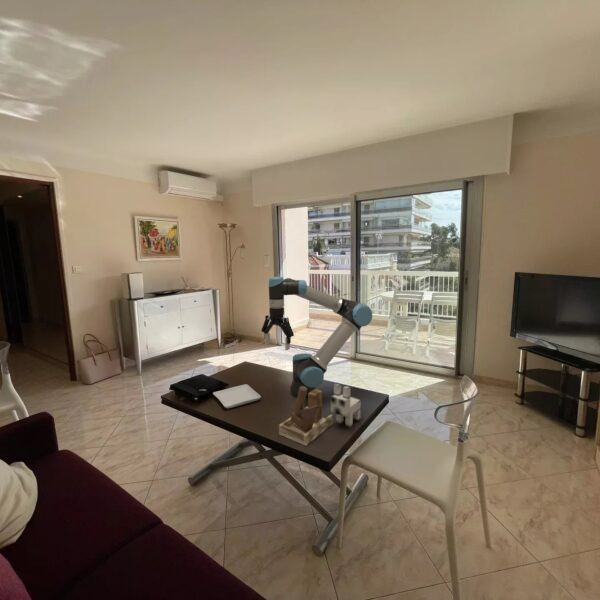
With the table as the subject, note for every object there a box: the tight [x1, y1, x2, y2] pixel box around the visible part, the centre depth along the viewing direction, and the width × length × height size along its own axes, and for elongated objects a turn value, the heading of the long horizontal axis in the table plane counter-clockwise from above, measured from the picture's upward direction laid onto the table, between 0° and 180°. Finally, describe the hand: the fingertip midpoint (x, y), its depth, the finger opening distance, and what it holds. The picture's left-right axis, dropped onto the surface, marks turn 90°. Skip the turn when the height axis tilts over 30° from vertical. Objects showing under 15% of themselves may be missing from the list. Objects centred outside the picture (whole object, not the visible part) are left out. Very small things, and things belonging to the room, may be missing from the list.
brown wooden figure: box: [290, 386, 318, 433], centre depth 143 cm, size 4×11×18 cm, turn 45°
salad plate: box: [212, 383, 262, 409], centre depth 180 cm, size 21×21×3 cm
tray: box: [278, 405, 334, 447], centre depth 148 cm, size 22×15×4 cm
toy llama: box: [330, 382, 362, 428], centre depth 153 cm, size 8×18×20 cm, turn 141°
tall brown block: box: [307, 388, 323, 423], centre depth 153 cm, size 6×4×14 cm, turn 143°
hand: (277, 347), depth 166 cm, fingers open, 13 cm apart
